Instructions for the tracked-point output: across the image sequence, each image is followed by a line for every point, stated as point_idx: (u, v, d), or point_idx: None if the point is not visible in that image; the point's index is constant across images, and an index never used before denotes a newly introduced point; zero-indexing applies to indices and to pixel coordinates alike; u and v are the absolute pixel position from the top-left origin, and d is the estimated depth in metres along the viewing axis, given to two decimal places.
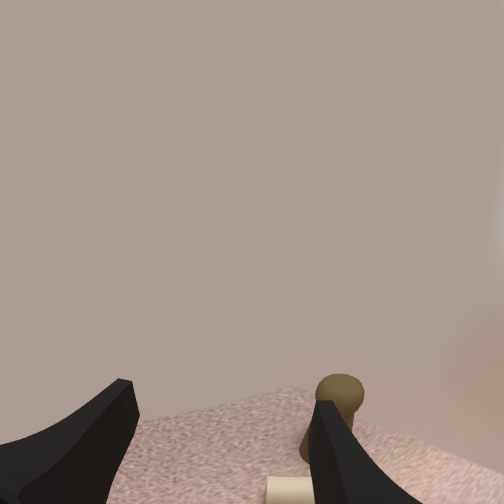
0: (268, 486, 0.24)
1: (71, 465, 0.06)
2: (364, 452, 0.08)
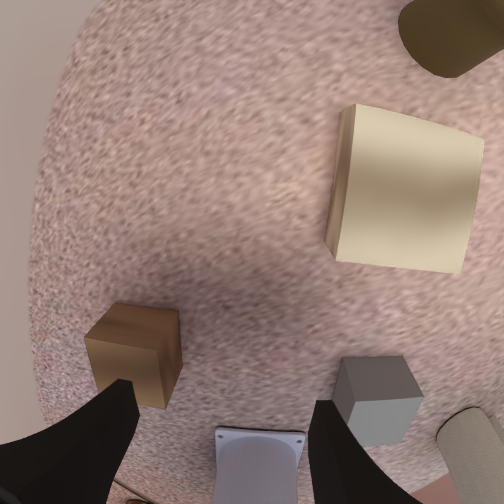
0: (356, 130, 0.14)
1: (71, 465, 0.06)
2: (364, 452, 0.08)
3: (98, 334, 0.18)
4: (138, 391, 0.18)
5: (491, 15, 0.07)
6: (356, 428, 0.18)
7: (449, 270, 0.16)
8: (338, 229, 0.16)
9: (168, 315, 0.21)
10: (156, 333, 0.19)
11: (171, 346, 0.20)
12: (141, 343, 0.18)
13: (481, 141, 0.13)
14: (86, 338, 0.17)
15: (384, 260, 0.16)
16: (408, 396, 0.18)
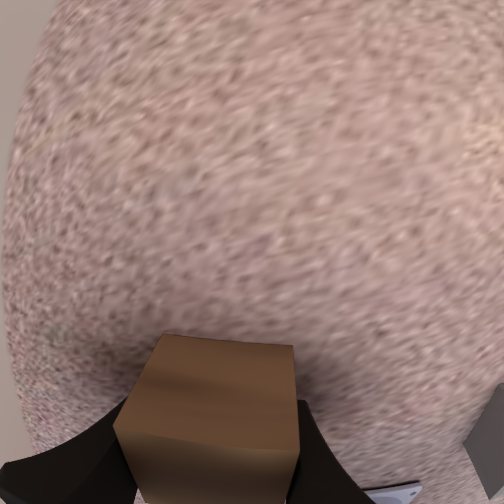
0: None
1: (102, 476, 0.06)
2: (331, 454, 0.08)
3: (146, 416, 0.08)
4: None
5: None
6: None
7: None
8: None
9: (279, 358, 0.11)
10: (276, 405, 0.09)
11: None
12: (256, 435, 0.07)
13: None
14: (119, 428, 0.07)
15: None
16: None
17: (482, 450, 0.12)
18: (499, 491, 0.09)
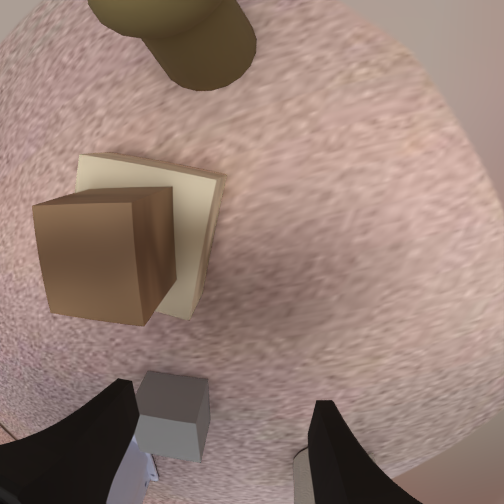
0: (78, 178, 0.16)
1: (71, 465, 0.06)
2: (364, 452, 0.08)
3: (53, 202, 0.12)
4: (102, 293, 0.12)
5: None
6: (143, 436, 0.20)
7: (174, 314, 0.18)
8: None
9: (157, 188, 0.15)
10: (135, 195, 0.12)
11: (157, 226, 0.14)
12: (110, 200, 0.11)
13: (211, 182, 0.15)
14: (35, 207, 0.11)
15: None
16: (180, 419, 0.19)
17: None
18: (138, 444, 0.20)
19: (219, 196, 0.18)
